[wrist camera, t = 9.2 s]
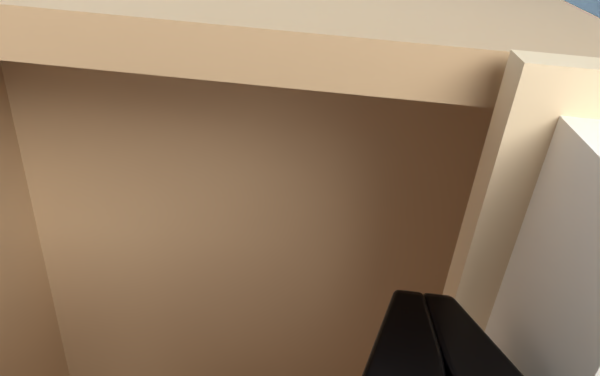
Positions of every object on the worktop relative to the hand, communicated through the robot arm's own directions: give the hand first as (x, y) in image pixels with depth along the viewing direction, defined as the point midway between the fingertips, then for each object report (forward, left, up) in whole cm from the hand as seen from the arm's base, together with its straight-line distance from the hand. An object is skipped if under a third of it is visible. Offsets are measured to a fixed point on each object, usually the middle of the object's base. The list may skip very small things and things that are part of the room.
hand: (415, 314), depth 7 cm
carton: (+4, +5, -8) cm, 10 cm away
